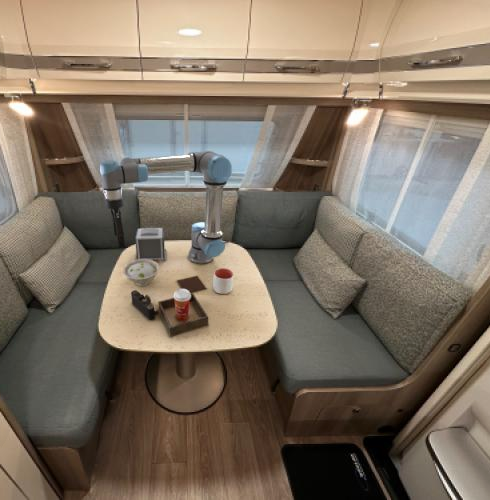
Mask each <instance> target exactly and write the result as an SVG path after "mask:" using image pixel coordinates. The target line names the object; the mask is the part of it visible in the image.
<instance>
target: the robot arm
mask: <svg viewBox="0 0 490 500" xmlns="http://www.w3.org/2000/svg"><path fill="white" fill-rule="evenodd" d="M99 170H100V177H101V184H102V189H103V191H102V194H103V195H104V202H105V207H106V208H107V209H109V211H110V214H111V220H112V226H113V227H112V229H113V234H114V236H116V237H117V238H116V239H117V244H118V248H119V249H123V248H126V243H125V233H124V227H123V221H122V215H121V214H122V212H121V210H120V208H121V209H122V208H123V206H124V199H123V189H122V185H125V184H137V183H144V182H147V181H148V180H149V175H152V174H163V173H177V172H189V173H197V174H202V175H203V177H202V183H203V185H204V186H205V199H204V200H205V201H204V203H205V204H204V221H201V222H200V221H199V222H195V223H193V224H192V225H191V231H190V232H191V247H190V249H189V252H188V257H187V259H188V260H189V261H190V262H191V263H193V264H196V265H197V264H199V265H203V264H208V263H210V262H212V261H213V259H214V258H217V257H219V256H221V255H222V254H223V252H224V251H225V250H226V243H229V240H228V239H227V240H225V241H224V240H223V235H224V233H223V231H222V230H221V222H222V210H223V209H222V208H223V196H224V187H225V186H226V185H227V182H228V180H229V178H230V177H231V176H232V172H233V166H232V163H231V161H230V160H229V159H228V158H227V157H226V156H224V155H222V154H219V153H216V152H214V151H211V150H204V151H202V150H201V151H194V152H188V153H187V154H181V155H180V154H179V155H168V156H153V157H152V156H151V157H139V158H137V157H136V158H131V157H124V158H122V159H121V160H120V161H119V162H118V161H117V160H104V161H102V162H101V163H99Z"/></svg>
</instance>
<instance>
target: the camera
mask: <svg viewBox="0 0 490 500" xmlns="http://www.w3.org/2000/svg"><path fill="white" fill-rule="evenodd" d="M130 297H131V302H132V303H131V305H133V307H134V308H136V310H138V311H139V312H140V313H141V314H142V315H143V316H144V317H145V318H146V319H147V320H149V321H154V320H155V319H156V316H158V315H159V310H155V305H154V304H153V303H152V299H151V296H150V295H148V294H145V295H144V294H143V293H141V292H139V291H138V290H137V289H134V290H132V291H131V292H130Z"/></svg>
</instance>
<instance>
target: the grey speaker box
mask: <svg viewBox="0 0 490 500" xmlns="http://www.w3.org/2000/svg"><path fill="white" fill-rule="evenodd" d="M134 243H135V253H136V254H135V260H140V259H148V260H153V261H154V260H158V262H166V261H167V249H166V248H165V246H166V245H165V230H164V229H163V227H145V228H141V227H140V228H137V230H136V232H135V237H134Z"/></svg>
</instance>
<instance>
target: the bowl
mask: <svg viewBox="0 0 490 500" xmlns="http://www.w3.org/2000/svg"><path fill="white" fill-rule="evenodd" d="M159 266H160V265H159V263H157V262H156V261H154V260H148V259H140V260H136V259H134V260H132V261H130V262H129V261H128V262H127V263H126V264H125V265H124V267H123V268H122V274H123V275H124V276H125V277H126V278H127V280H129V281H130V282H132V283H134V284H136V286H139V287H145V286H147V285H149V283H150V282H151V281H152V280H154V278H155V277H156V276H157V275H158V273H159V271H160V267H159Z"/></svg>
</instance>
